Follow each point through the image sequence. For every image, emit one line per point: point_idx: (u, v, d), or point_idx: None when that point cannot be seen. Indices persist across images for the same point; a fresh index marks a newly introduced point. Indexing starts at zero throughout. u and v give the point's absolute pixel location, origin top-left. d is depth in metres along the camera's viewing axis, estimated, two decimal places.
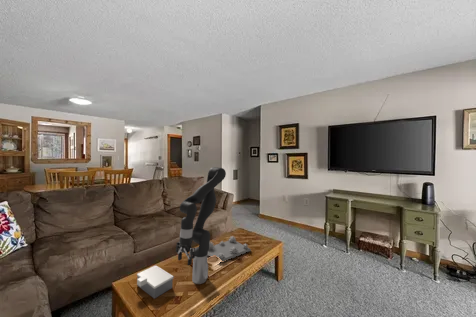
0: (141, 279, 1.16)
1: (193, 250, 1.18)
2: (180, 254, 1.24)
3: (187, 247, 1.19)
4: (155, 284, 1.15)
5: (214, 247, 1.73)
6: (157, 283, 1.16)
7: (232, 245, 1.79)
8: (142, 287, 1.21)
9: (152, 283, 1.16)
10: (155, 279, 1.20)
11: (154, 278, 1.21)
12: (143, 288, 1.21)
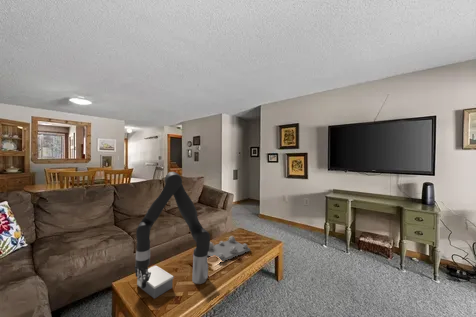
0: (141, 279, 1.16)
1: (148, 275, 1.13)
2: None
3: (143, 270, 1.14)
4: (155, 284, 1.15)
5: (214, 247, 1.73)
6: (157, 283, 1.16)
7: (232, 245, 1.79)
8: None
9: (152, 283, 1.16)
10: (155, 279, 1.20)
11: (154, 278, 1.21)
12: (143, 288, 1.21)
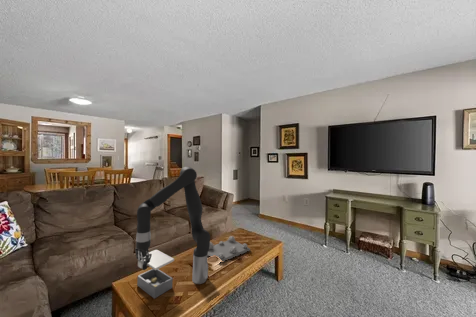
0: (142, 261, 1.16)
1: (149, 257, 1.13)
2: None
3: (144, 251, 1.14)
4: (156, 266, 1.15)
5: (214, 247, 1.73)
6: (158, 265, 1.16)
7: (232, 245, 1.79)
8: (142, 287, 1.21)
9: (153, 265, 1.16)
10: (155, 261, 1.20)
11: (155, 260, 1.21)
12: (143, 288, 1.21)
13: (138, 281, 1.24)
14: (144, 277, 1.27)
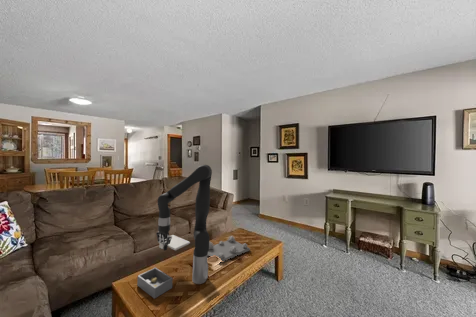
0: (163, 243, 1.34)
1: (170, 238, 1.31)
2: None
3: (165, 234, 1.32)
4: (175, 247, 1.33)
5: (214, 247, 1.73)
6: (177, 246, 1.34)
7: (231, 245, 1.79)
8: (142, 287, 1.21)
9: (172, 246, 1.34)
10: (174, 244, 1.37)
11: (173, 243, 1.38)
12: (143, 288, 1.21)
13: (138, 281, 1.24)
14: (144, 277, 1.27)
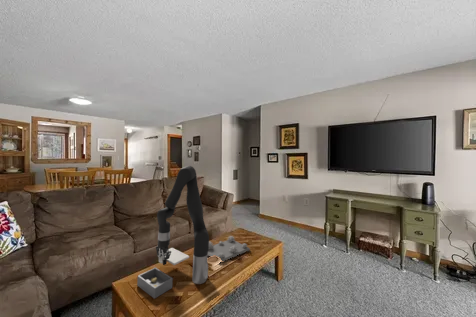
0: (162, 257, 1.34)
1: (169, 253, 1.31)
2: None
3: (165, 249, 1.32)
4: (174, 261, 1.33)
5: (213, 247, 1.73)
6: (176, 261, 1.34)
7: (231, 245, 1.79)
8: (142, 287, 1.21)
9: (172, 261, 1.34)
10: (173, 258, 1.38)
11: (172, 257, 1.39)
12: (143, 288, 1.21)
13: (138, 281, 1.24)
14: (144, 277, 1.27)
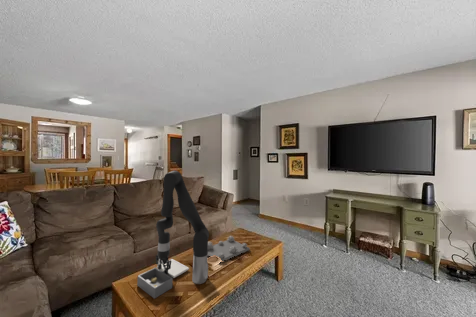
0: (162, 270, 1.35)
1: (169, 263, 1.31)
2: (160, 266, 1.37)
3: (164, 259, 1.33)
4: (174, 274, 1.34)
5: (213, 247, 1.73)
6: (176, 273, 1.35)
7: (231, 245, 1.80)
8: (142, 287, 1.21)
9: (171, 273, 1.34)
10: (173, 270, 1.38)
11: (172, 269, 1.39)
12: (143, 288, 1.21)
13: (138, 281, 1.24)
14: (144, 277, 1.27)
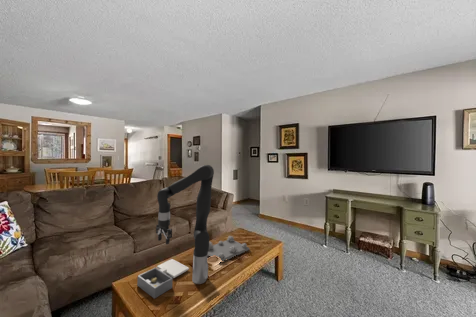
0: (162, 270, 1.35)
1: (170, 231, 1.32)
2: (160, 235, 1.38)
3: (165, 228, 1.33)
4: (174, 274, 1.34)
5: (213, 247, 1.73)
6: (176, 273, 1.35)
7: (231, 244, 1.80)
8: (142, 287, 1.21)
9: (171, 273, 1.34)
10: (173, 270, 1.38)
11: (172, 269, 1.39)
12: (143, 288, 1.21)
13: (138, 281, 1.24)
14: (144, 277, 1.27)
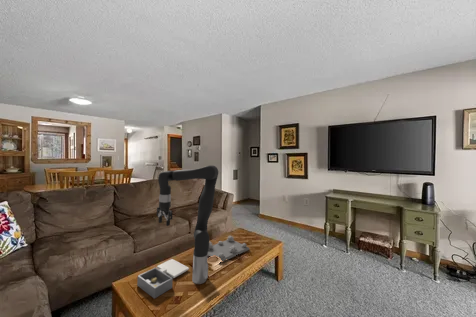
0: (162, 270, 1.35)
1: (170, 212, 1.35)
2: (160, 217, 1.41)
3: (165, 210, 1.36)
4: (174, 274, 1.34)
5: (213, 247, 1.73)
6: (176, 273, 1.35)
7: (231, 244, 1.80)
8: (142, 287, 1.21)
9: (171, 273, 1.34)
10: (173, 270, 1.38)
11: (172, 269, 1.39)
12: (143, 288, 1.21)
13: (138, 281, 1.24)
14: (144, 277, 1.27)
